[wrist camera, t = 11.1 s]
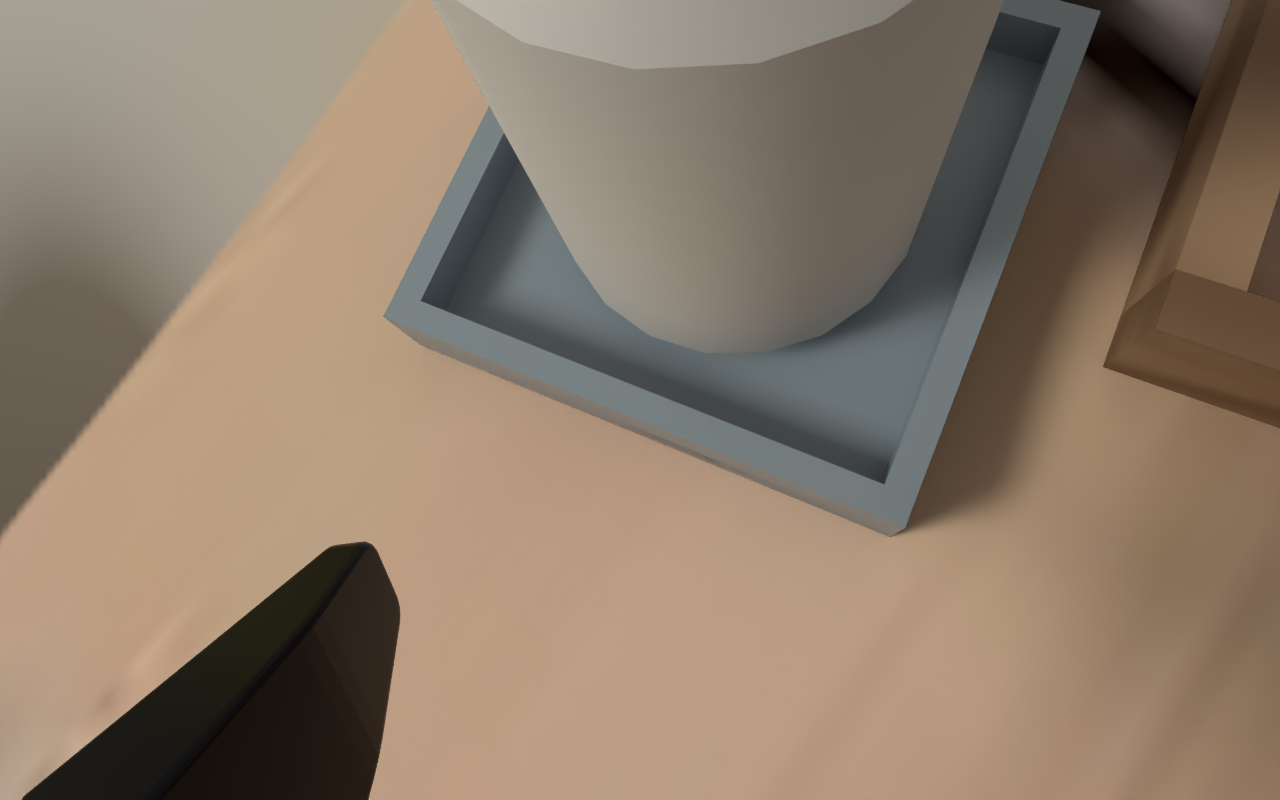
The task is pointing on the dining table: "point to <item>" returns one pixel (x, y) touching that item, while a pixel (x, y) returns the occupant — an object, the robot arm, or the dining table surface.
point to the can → (729, 146)
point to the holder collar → (1215, 236)
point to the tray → (783, 378)
